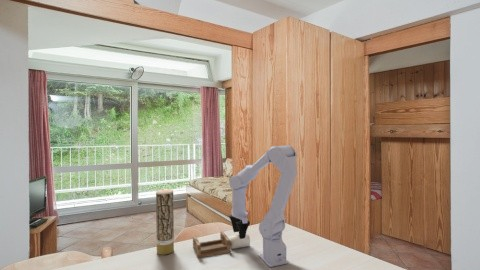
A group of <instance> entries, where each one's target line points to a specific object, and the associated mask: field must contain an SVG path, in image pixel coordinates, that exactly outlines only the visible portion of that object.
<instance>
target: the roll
mask: <svg viewBox="0 0 480 270" xmlns="http://www.w3.org/2000/svg"><path fill="white" fill-rule="evenodd" d="M228 238H229V239H230V250H233V249H238V248H239V249H240V248H245V247H250V246H251V238H250V235H249V233H246V236H245V238H243V239H240V237H239V234H236V235H231V236H230V235H229V236H228Z"/></svg>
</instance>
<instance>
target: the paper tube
mask: <svg viewBox="0 0 480 270" xmlns="http://www.w3.org/2000/svg"><path fill="white" fill-rule="evenodd" d="M155 192H156V193H155V201H156V202H155V204H156V206H155V207H156V208H155V209H156V210H155V215H156V218H155V219H156V220H155V222H156V224H155V225H156V226H155V227H156V252H157V253H156V254H158V255H161V256H163V255H169V254H171V253H173V252H174V248H175V245H174V244H175V243H174V242H175V241H174V239H175V238H174V236H175V235H174V233H175V230H174V227H175V226H174V217H175V216H174V213H175V212H174V190H173V189H168V188H167V189H166V188H165V189H160V190H156V191H155Z"/></svg>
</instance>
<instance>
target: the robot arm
mask: <svg viewBox="0 0 480 270" xmlns="http://www.w3.org/2000/svg"><path fill="white" fill-rule="evenodd" d="M297 156H298V154H297V152H296V150H295V149H294V147H293V146H292V145H288V144H285V145H272V146H271V147H270V148H269V149H267V150H266V151H265V153H264V154H263V155H261V157H260V158H258V159H257V161H255V162H254V163H253V164H246V165H244V168H243V169H241V171H238V172H237V174H236V175H232V176H230V178H229V183H228V184H229V187H230V188H231V195H232V197H231V199H232V200H231V205H232V208H231V209H230V210H231V211H230V212H231V214H230V215H228V217H229V219H230V222H231V227H232V230H233V233H238V235H239V237H240V239H243V238H245V236H246V234H247V232H248V228H249V226H250V225H251V223H250V221H249V220H248V217H247V216H248V215H249V212H248V211H246V210H247V207H246V201H247V200H246V194H247V193H246V192H247V188H248V185H249V184H250V182H252V181H253V180H254V179H256V178H257V177H258V175H259V171H261V170H262V169H264V168H265V167H267V166H268V165H269V164H271V163H272V164H273V165H274V166H275V168H277V170H278V171H279V172H280V175H279V178H278V182H277V186H276V187H275V188H276V189H275V192H274V194H273V195H274V196H273V198H272V201H271V204H270V208H269V210H268V211H267V213H265V215H264V217H263V219H262V220H261V222H260V223H258V231H259V234H260V236H261V237H262V253H260V254H258V255H259V258H260V259H261V260H262V261H263V262H264V263H265V264H266V265H267V266H268V267H270V268H273V267H277V266H281V265H287V264H289V261H288V260H287V245H286V244H285V242H284V241H283V237H282V236H283V231H284V230H285V228H286V222H285V221H286V218H287V217H286V215H285V210H286V208H287V204H288V202H289V199H290V195H291V193H292V189H293V186H294V184H295V181H296V178H297V174H298V167H297Z"/></svg>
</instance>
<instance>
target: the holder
mask: <svg viewBox="0 0 480 270" xmlns="http://www.w3.org/2000/svg"><path fill="white" fill-rule="evenodd" d="M192 249H193V251H194V254H195V255H196V258H197V259H200V258H205V257H211V256H217V255H223V254H228V253H229V254H230V252H231V248H230V239H229V236H227V235H226V233H225V232H224V231H220V238H219V239H214V240H207V241H202V242H201V241H199V239H198V237H197V235H193V236H192Z"/></svg>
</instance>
